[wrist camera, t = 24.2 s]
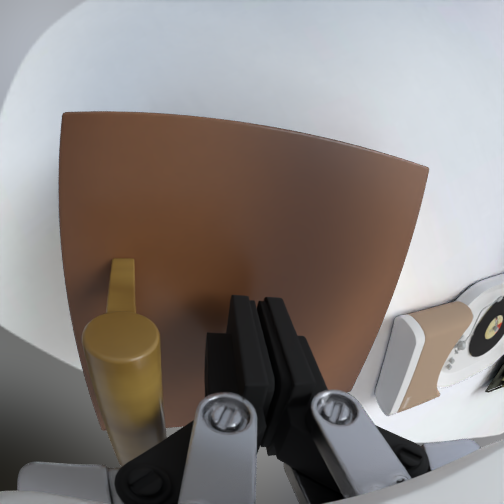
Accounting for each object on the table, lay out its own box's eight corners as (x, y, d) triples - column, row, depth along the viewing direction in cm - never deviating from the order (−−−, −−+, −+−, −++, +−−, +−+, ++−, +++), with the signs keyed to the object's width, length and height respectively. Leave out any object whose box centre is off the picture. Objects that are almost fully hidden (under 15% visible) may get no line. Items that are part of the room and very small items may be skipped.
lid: (101, 418, 12) (110, 516, 7) (68, 112, 7) (-15, 107, 2) (344, 383, 17) (393, 444, 13) (417, 164, 12) (516, 199, 8)
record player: (422, 322, 17) (553, 274, 19) (399, 297, 20) (534, 262, 22) (383, 427, 21) (517, 362, 23) (370, 403, 24) (502, 348, 26)
